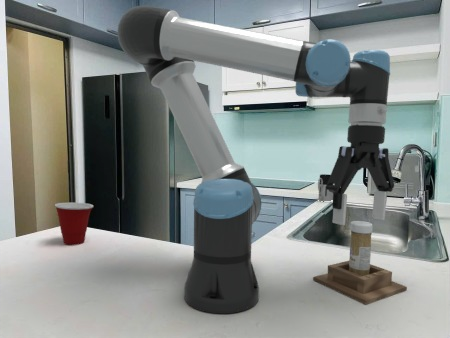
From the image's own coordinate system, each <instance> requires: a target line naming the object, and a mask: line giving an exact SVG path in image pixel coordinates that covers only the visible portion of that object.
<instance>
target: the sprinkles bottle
mask: <svg viewBox="0 0 450 338" xmlns="http://www.w3.org/2000/svg"><path fill="white" fill-rule="evenodd" d="M349 230H350V233H351V234H350V246H349V260H348V261H349V271H350V272H353V273H356V274H358V275H361V276H365V275H369V269H370V264H371V256H372V255H371V251H372V233H373V224H372V223H371V222H368V221H363V220H352V221H351V222H350V229H349Z"/></svg>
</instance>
